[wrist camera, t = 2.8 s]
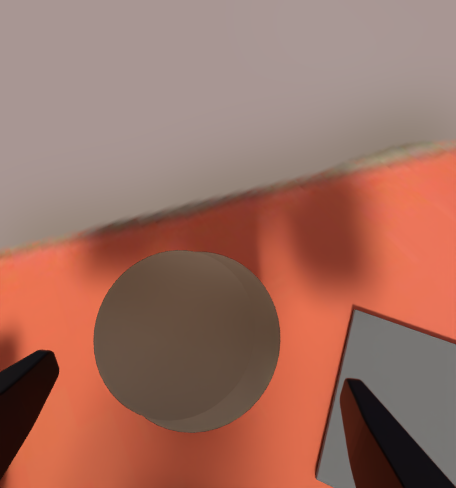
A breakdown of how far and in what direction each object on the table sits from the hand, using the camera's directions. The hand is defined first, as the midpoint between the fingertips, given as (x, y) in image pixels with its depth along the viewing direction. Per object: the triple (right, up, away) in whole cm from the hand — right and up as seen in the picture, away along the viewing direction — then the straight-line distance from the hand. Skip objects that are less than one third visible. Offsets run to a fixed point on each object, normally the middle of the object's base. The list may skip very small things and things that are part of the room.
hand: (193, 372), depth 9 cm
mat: (+11, -5, +7) cm, 14 cm away
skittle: (+1, -2, +9) cm, 9 cm away
